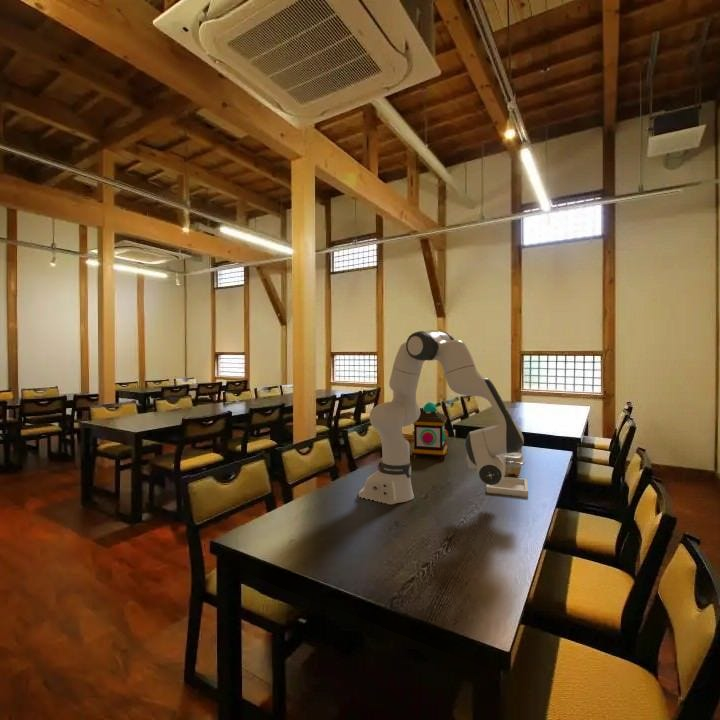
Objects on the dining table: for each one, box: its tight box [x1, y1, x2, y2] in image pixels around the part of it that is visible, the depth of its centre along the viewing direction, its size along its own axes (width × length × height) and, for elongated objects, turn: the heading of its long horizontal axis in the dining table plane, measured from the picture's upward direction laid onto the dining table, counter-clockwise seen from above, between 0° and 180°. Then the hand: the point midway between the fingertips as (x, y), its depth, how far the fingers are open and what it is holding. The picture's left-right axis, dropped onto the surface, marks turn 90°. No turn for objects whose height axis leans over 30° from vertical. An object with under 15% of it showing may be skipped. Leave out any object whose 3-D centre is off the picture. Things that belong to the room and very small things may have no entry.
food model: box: [504, 448, 523, 478], centre depth 188 cm, size 10×7×20 cm
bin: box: [485, 476, 529, 498], centre depth 172 cm, size 16×16×2 cm
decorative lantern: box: [411, 401, 449, 462], centre depth 224 cm, size 20×20×30 cm
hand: (494, 452), depth 157 cm, fingers closed on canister, 5 cm apart
